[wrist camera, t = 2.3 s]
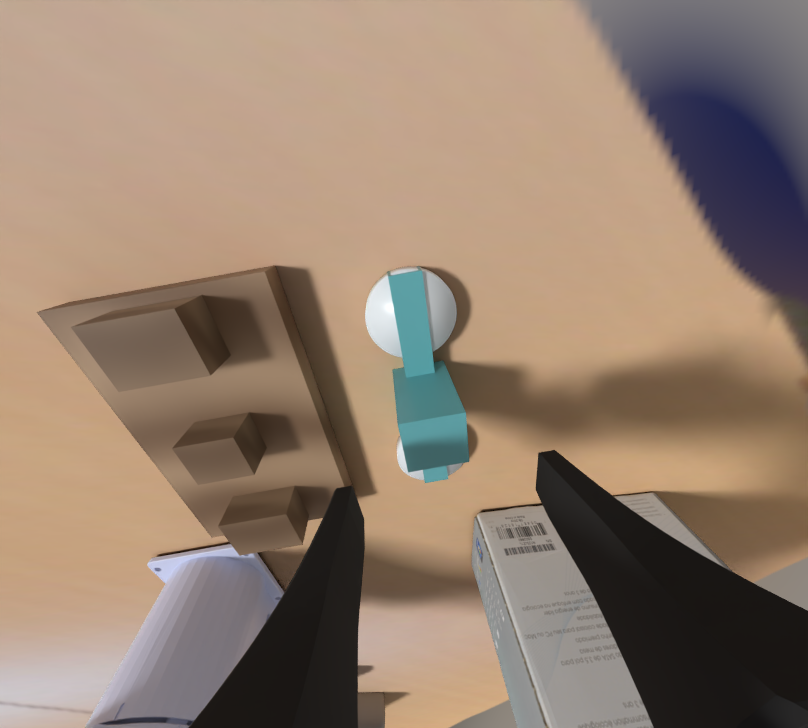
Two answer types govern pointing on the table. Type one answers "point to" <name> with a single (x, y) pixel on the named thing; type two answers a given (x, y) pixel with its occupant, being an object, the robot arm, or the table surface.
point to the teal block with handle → (420, 370)
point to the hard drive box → (558, 620)
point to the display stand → (215, 399)
